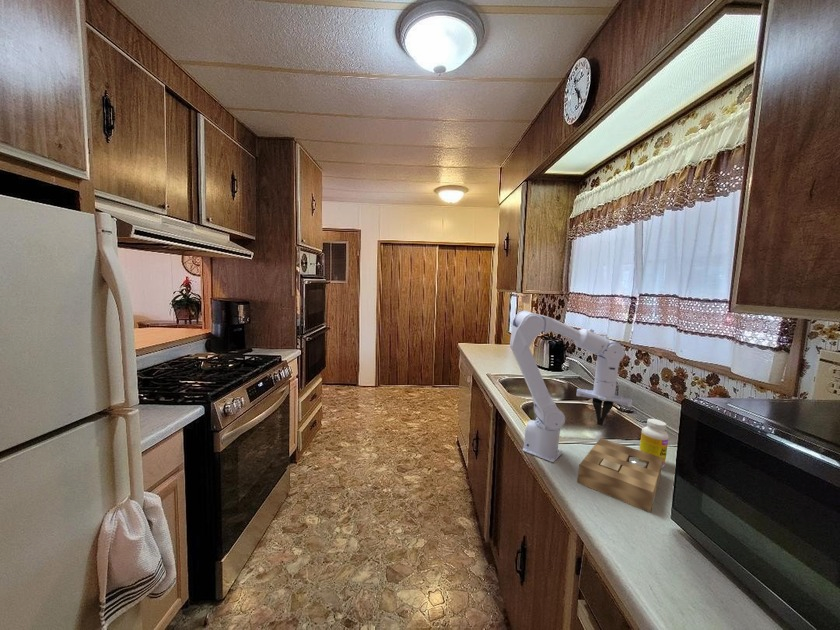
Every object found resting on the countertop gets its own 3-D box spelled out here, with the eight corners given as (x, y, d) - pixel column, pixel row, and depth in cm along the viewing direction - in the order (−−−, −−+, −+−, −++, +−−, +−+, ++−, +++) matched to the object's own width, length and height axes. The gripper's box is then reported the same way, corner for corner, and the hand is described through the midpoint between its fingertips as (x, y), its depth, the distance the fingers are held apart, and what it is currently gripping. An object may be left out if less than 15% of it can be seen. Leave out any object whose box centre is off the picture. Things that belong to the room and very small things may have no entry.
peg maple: (597, 481, 89) (600, 464, 89) (601, 475, 92) (603, 458, 92) (615, 488, 87) (617, 470, 86) (618, 481, 90) (620, 464, 89)
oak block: (577, 482, 89) (579, 464, 88) (598, 453, 106) (600, 438, 105) (650, 512, 79) (653, 492, 78) (660, 474, 95) (663, 458, 95)
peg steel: (625, 477, 92) (627, 460, 92) (628, 471, 95) (630, 455, 95) (642, 483, 90) (645, 466, 89) (645, 477, 93) (647, 461, 92)
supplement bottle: (660, 471, 97) (667, 428, 96) (634, 461, 102) (640, 420, 101) (667, 464, 102) (673, 423, 100) (641, 454, 106) (647, 415, 105)
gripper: (577, 378, 101) (572, 421, 102) (634, 388, 94) (628, 435, 95) (579, 373, 107) (575, 414, 108) (633, 382, 100) (627, 427, 101)
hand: (600, 424), depth 102 cm, fingers closed
